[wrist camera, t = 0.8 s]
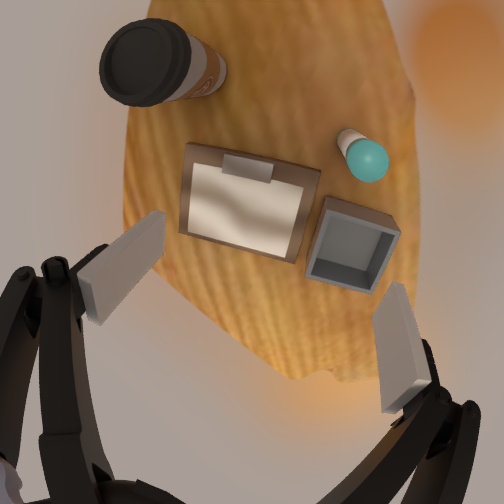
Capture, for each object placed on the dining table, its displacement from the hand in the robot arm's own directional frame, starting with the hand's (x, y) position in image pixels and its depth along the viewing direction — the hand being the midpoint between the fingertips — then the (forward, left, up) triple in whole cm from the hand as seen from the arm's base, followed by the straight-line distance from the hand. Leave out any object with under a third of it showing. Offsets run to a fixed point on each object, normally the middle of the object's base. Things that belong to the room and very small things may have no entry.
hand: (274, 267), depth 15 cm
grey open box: (+6, +8, -21) cm, 24 cm away
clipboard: (+5, -6, -21) cm, 23 cm away
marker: (-6, +5, -21) cm, 23 cm away
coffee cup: (-11, -14, -22) cm, 28 cm away
